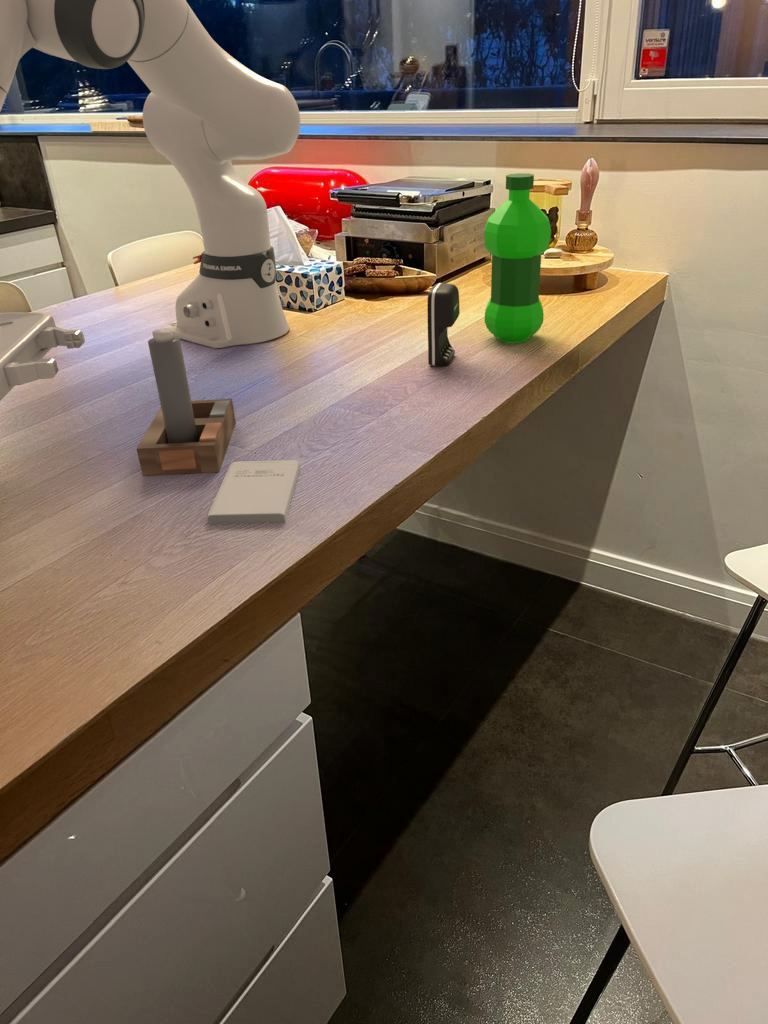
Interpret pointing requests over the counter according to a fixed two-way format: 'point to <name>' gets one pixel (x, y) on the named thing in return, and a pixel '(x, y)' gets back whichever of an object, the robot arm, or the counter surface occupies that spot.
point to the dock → (189, 457)
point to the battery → (441, 322)
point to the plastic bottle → (516, 262)
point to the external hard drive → (255, 492)
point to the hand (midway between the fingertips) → (69, 352)
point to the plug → (172, 386)
